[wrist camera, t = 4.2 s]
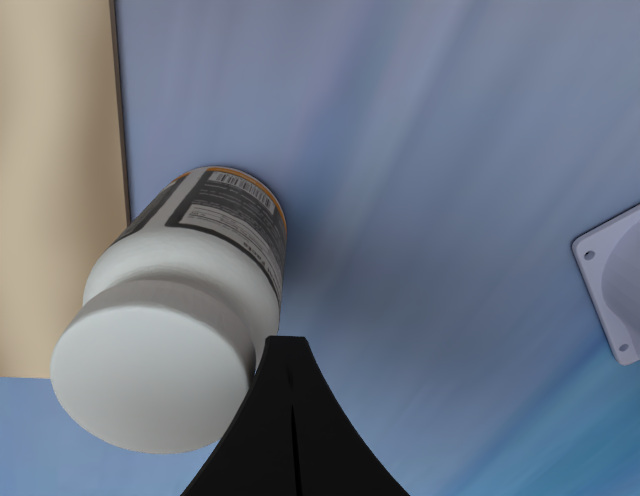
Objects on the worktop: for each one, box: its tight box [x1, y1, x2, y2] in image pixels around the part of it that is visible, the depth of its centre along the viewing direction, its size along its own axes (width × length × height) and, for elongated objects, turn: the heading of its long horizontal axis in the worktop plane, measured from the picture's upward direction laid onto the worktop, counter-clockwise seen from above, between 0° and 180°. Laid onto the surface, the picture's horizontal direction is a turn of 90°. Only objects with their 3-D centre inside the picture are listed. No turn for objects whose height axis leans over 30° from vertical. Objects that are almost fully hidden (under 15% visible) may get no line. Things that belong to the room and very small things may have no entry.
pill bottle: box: [50, 166, 287, 454], centre depth 15 cm, size 6×6×10 cm
